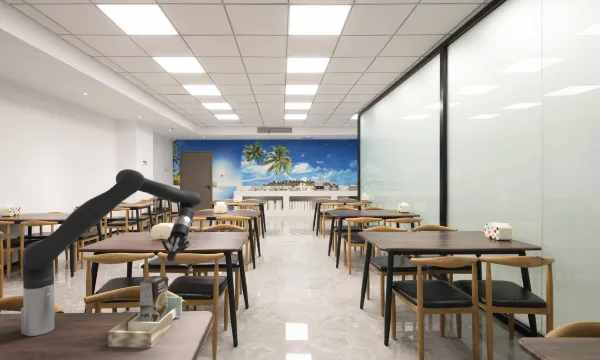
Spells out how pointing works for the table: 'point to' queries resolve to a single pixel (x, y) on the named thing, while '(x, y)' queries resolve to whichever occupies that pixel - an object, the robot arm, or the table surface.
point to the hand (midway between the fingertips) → (169, 260)
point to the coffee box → (153, 299)
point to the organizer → (138, 334)
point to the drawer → (172, 307)
